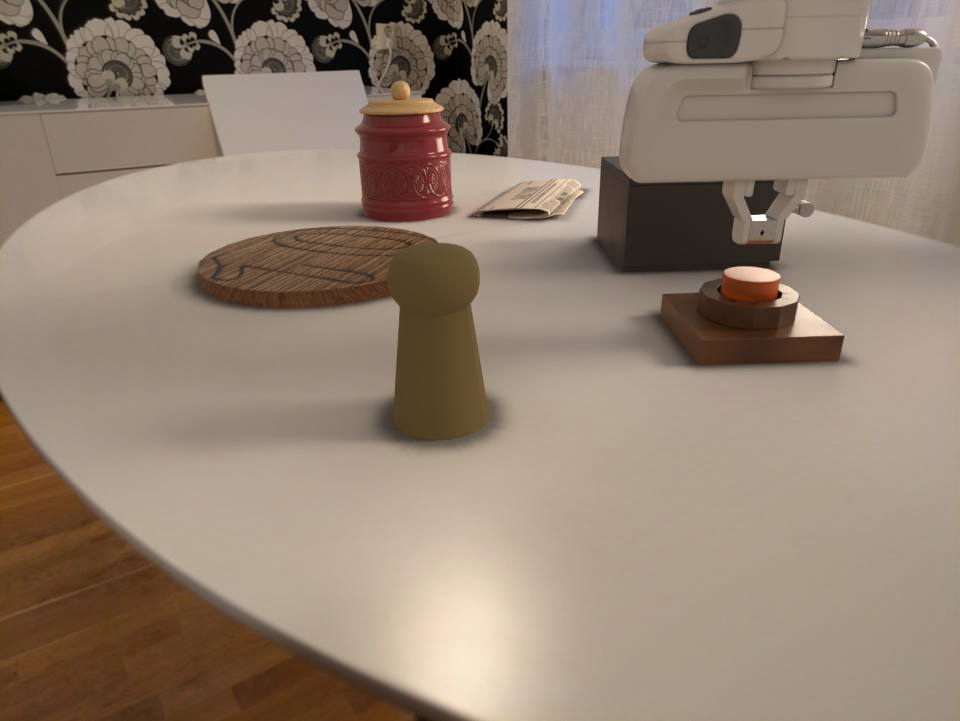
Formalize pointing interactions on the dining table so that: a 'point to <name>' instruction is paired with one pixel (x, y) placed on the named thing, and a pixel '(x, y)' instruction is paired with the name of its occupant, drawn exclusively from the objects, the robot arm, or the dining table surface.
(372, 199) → the kitchen canister
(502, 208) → the newspaper
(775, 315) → the control block
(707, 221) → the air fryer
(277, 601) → the dining table surface
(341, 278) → the trivet
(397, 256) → the olive game pawn
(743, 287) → the button
